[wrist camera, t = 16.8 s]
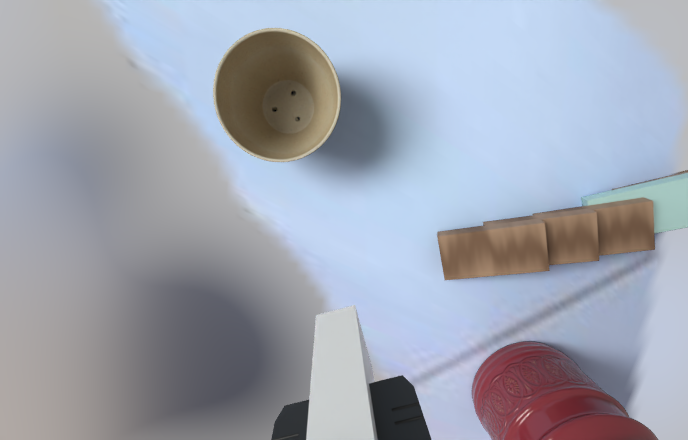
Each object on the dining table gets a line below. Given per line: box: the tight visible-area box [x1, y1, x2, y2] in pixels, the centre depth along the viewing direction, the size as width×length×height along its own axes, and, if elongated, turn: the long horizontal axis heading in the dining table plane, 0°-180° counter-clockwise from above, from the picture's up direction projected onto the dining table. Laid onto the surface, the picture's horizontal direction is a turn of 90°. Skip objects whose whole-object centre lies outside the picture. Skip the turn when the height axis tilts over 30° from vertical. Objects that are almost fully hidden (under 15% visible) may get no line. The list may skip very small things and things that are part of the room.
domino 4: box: [581, 173, 688, 234], centre depth 35 cm, size 5×2×10 cm
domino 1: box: [437, 218, 549, 280], centre depth 35 cm, size 5×2×10 cm
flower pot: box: [213, 28, 341, 162], centre depth 30 cm, size 10×10×7 cm
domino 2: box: [483, 208, 599, 265], centre depth 35 cm, size 5×2×10 cm
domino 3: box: [533, 197, 655, 256], centre depth 35 cm, size 5×2×10 cm
